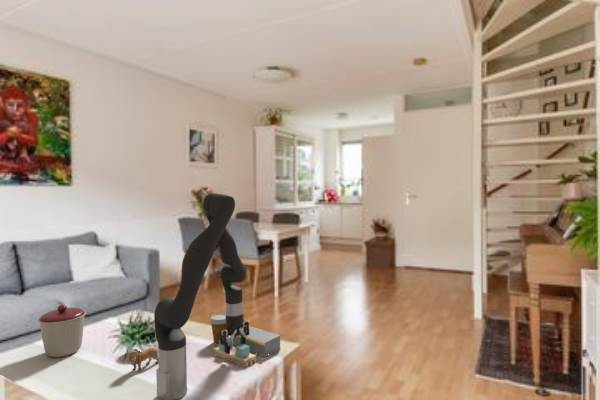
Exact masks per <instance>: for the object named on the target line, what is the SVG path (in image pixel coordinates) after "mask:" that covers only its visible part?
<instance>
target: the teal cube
mask: <svg viewBox="0 0 600 400" xmlns="http://www.w3.org/2000/svg"><path fill="white" fill-rule="evenodd" d="M235 348H236V356H239V357H242V358H243V357H245V356H247V355H249V354H250V353H251V352H250V347H249V346H248V345H245V344H241V345H239V346H235Z"/></svg>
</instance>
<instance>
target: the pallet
mask: <svg viewBox="0 0 600 400" xmlns="http://www.w3.org/2000/svg"><path fill="white" fill-rule="evenodd" d="M212 348H213V349H212V350H213V355H215V356H218V357H221V358H223V359H225V360H228V361H230V362H233V363H235V364H237V365H239V366H243V367H244V368H247V367H248V366H249V365H252V364H253V363H254V364H255V363H256V362H257V354H255V353H252V352H250V354H249V355H247V356H245V357H243V358H242V357H239V356H236V346H233V348H231V349H230V354H226V353H225V351H224V350H221V349H219V345H217V346H214V347H212Z"/></svg>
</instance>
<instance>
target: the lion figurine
mask: <svg viewBox="0 0 600 400" xmlns="http://www.w3.org/2000/svg"><path fill="white" fill-rule="evenodd" d="M126 359H127V363H128V364H130V365H131V366H133V368H132V371H136V369H137V372H138V373H140V372H141V371H142V367H141V366H142V362H145V361H147V359H148V361H147V362H146V363H145V364H146V365H149V364H150V363H151V361H152V360H156V362H155V364H157V365H159V355H158V351H157V349H156V348H155V347H154V348H149V349H147V350H145V351H143V352H140V351H135V350H133V349H132V350H130V351H128V352H127V355H126ZM137 366H138V367H137Z"/></svg>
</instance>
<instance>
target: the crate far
mask: <svg viewBox="0 0 600 400" xmlns="http://www.w3.org/2000/svg"><path fill="white" fill-rule="evenodd" d="M228 340H229V339H228ZM227 342H228V341H227ZM218 346H219V349H221V350H224V351H225V349H224V345H221V344H220V341H219V345H218ZM233 347H234V345H233V340H232V341H231V342H230V349H231V348H233Z"/></svg>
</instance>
